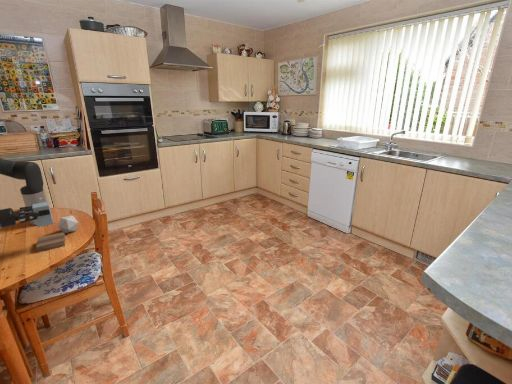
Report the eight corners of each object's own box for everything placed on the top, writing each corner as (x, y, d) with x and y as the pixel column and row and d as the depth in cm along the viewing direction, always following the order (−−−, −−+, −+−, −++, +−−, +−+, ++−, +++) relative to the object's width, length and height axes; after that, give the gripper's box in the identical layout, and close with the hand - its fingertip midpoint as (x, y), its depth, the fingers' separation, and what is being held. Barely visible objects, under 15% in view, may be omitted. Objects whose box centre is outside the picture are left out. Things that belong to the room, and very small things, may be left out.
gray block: (37, 222, 122) (32, 204, 119) (52, 219, 125) (48, 201, 122) (37, 227, 118) (32, 208, 115) (53, 223, 121) (48, 205, 118)
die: (80, 226, 143) (66, 213, 140) (84, 223, 137) (69, 210, 134) (67, 238, 138) (51, 225, 135) (70, 235, 132) (54, 221, 129)
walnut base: (39, 243, 127) (38, 237, 126) (65, 237, 132) (63, 232, 131) (38, 253, 119) (36, 247, 118) (65, 246, 124) (63, 240, 123)
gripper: (-7, 216, 105) (47, 206, 114) (-3, 205, 115) (46, 197, 125) (-1, 234, 107) (52, 222, 117) (3, 221, 118) (50, 212, 128)
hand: (49, 209), depth 121 cm, fingers closed on gray block, 5 cm apart
